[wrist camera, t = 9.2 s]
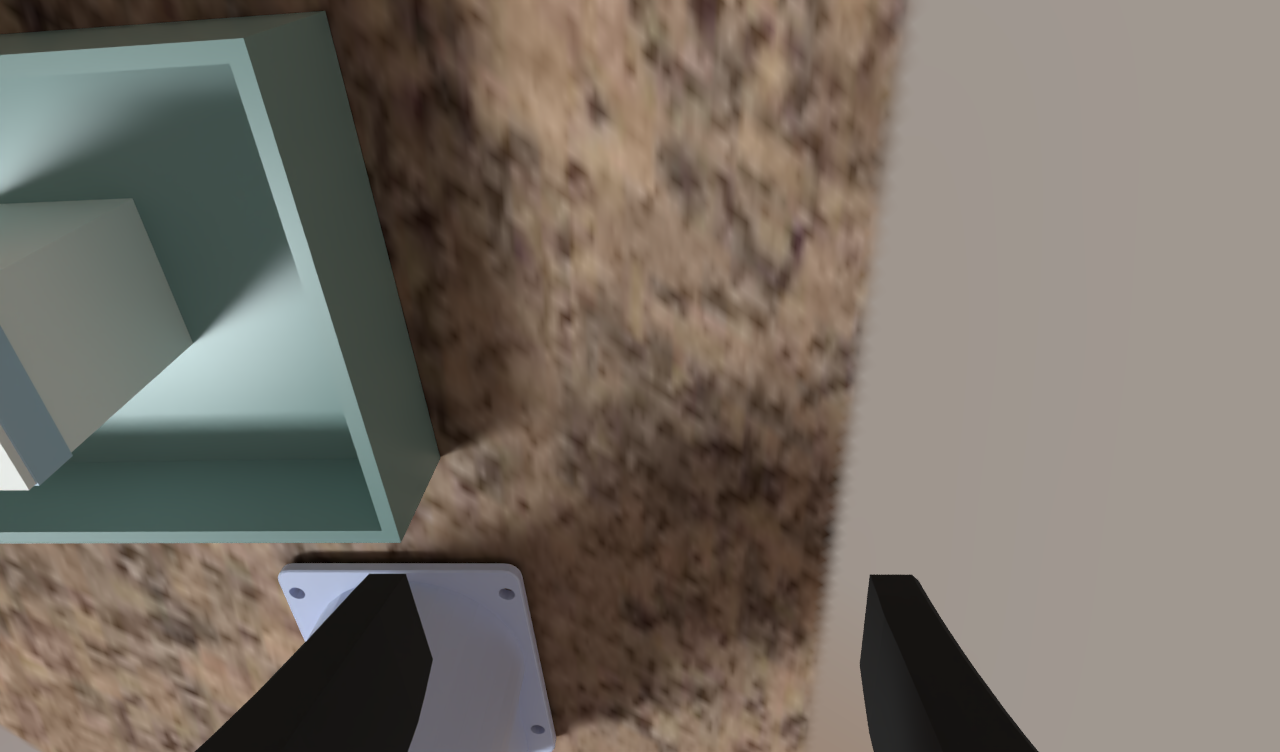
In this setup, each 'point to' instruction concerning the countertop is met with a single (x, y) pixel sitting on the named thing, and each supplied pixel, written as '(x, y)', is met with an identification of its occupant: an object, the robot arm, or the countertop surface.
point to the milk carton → (75, 327)
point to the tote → (227, 286)
